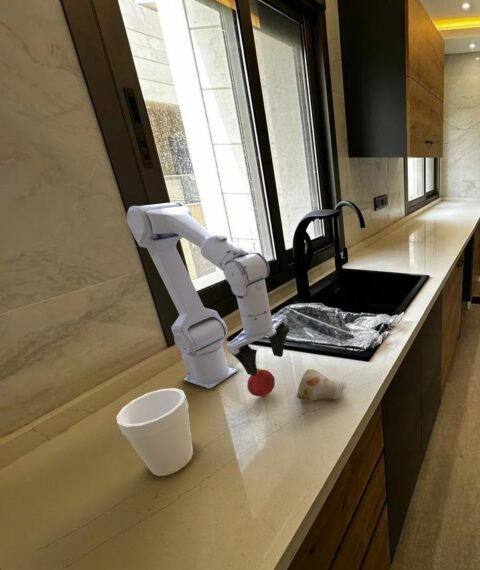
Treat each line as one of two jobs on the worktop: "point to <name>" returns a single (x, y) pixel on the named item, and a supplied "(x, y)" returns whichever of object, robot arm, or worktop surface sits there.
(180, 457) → the foam cup
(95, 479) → the worktop surface
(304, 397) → the white spotted tapered part
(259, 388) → the red round piece
